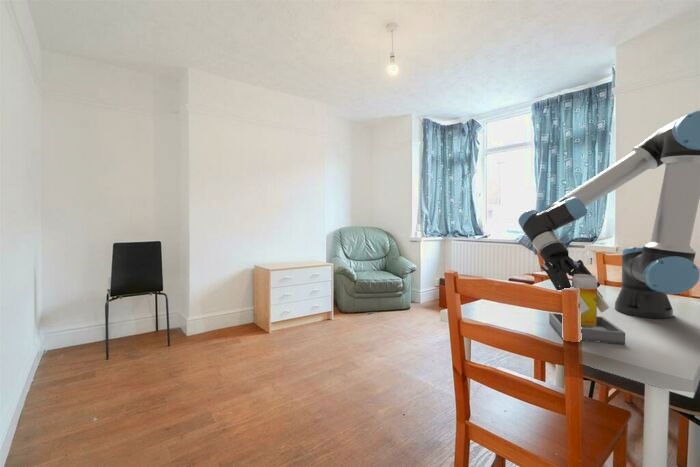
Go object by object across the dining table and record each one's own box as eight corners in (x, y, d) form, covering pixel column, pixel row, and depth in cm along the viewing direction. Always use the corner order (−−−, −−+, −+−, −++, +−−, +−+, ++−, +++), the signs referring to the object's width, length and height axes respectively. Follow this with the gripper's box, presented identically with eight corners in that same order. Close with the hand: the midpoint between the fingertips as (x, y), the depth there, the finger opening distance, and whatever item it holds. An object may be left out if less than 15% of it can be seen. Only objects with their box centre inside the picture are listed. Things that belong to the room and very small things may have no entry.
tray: (602, 326, 100) (603, 316, 100) (625, 344, 86) (625, 333, 86) (549, 322, 105) (549, 312, 105) (562, 338, 91) (562, 327, 91)
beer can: (601, 328, 93) (602, 276, 92) (583, 329, 92) (584, 278, 91) (583, 321, 99) (584, 273, 98) (566, 322, 98) (566, 274, 97)
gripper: (568, 254, 111) (613, 314, 96) (519, 256, 108) (558, 319, 93) (581, 240, 106) (632, 301, 91) (531, 242, 102) (575, 306, 87)
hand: (595, 310), depth 92 cm, fingers open, 6 cm apart
